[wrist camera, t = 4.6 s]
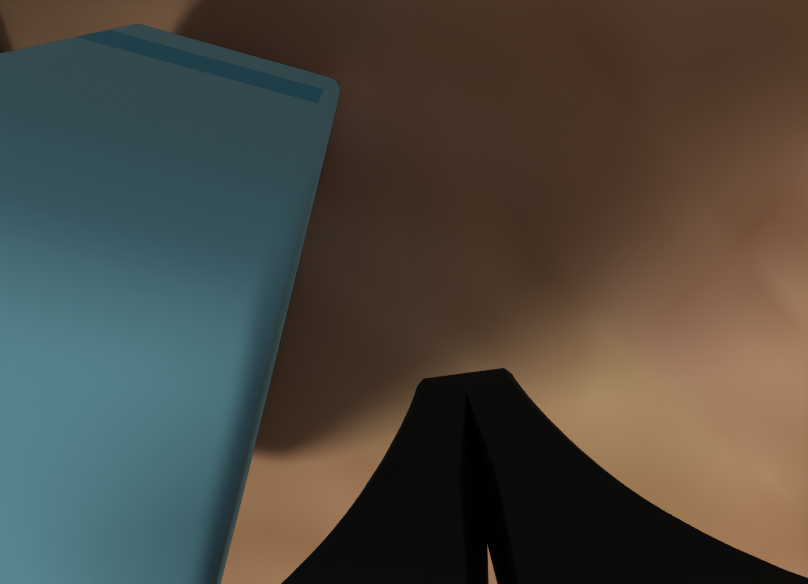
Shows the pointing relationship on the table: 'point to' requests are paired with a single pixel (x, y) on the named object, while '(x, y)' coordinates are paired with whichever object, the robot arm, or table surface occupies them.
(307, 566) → the robot arm
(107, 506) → the data package
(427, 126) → the table surface
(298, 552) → the table surface
